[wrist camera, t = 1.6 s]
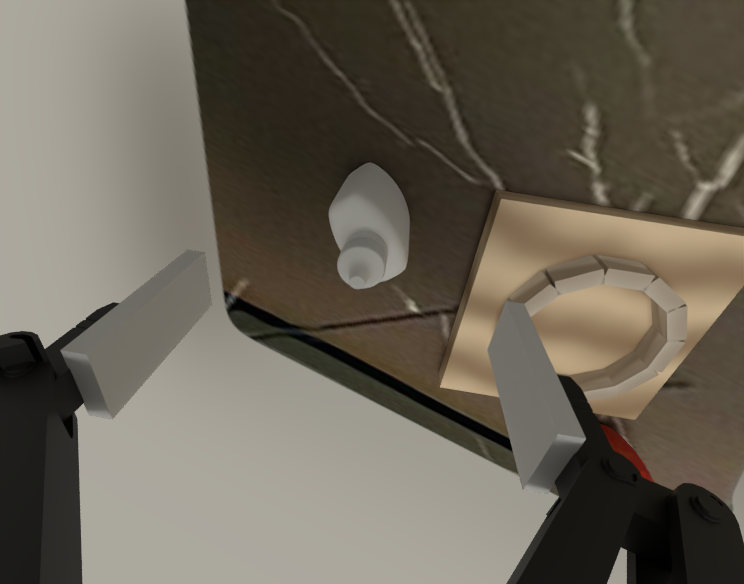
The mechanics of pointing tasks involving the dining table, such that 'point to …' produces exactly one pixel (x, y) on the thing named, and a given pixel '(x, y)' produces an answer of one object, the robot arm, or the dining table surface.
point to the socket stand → (594, 294)
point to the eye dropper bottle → (370, 227)
